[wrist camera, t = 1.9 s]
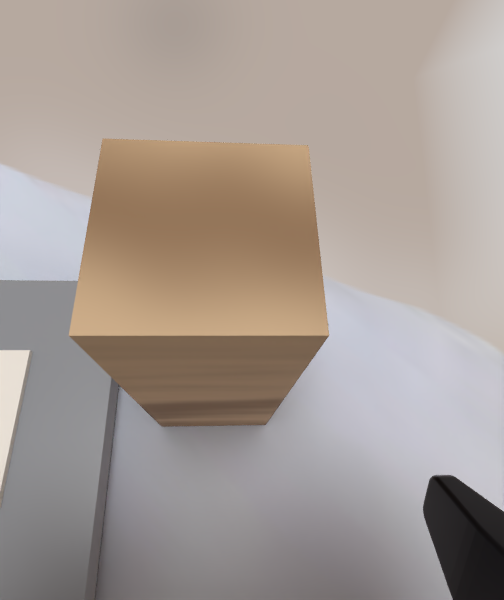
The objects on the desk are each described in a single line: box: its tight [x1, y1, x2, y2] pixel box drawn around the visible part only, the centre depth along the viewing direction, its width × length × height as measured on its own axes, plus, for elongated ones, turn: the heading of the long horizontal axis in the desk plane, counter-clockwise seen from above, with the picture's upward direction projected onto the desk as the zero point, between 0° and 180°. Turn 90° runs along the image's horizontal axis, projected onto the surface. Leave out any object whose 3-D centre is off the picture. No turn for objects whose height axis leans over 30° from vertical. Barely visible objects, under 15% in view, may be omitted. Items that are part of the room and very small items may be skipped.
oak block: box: [69, 139, 329, 426], centre depth 15 cm, size 5×5×13 cm
